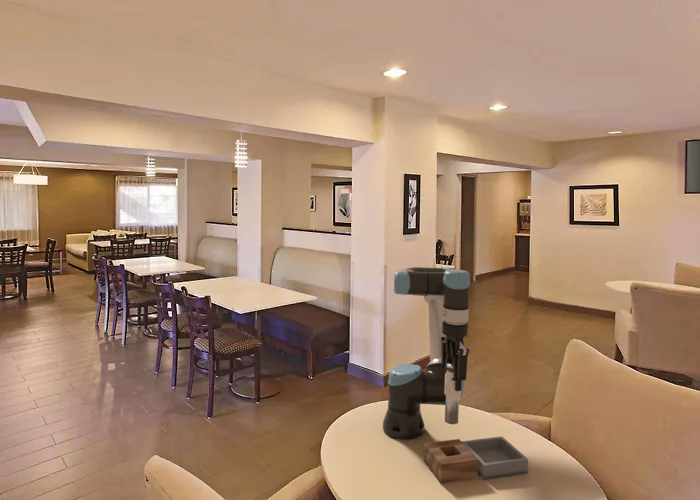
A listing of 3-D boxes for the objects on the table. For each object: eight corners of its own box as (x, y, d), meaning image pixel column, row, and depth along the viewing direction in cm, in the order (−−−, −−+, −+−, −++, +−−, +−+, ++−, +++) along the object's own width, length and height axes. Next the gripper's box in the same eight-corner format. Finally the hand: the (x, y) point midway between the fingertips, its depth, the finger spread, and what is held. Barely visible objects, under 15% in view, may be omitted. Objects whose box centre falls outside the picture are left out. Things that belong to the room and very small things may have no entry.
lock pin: (442, 418, 137) (444, 362, 135) (454, 417, 138) (456, 361, 136) (448, 425, 133) (450, 367, 131) (460, 423, 134) (462, 366, 132)
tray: (460, 454, 145) (461, 441, 145) (501, 449, 149) (502, 436, 148) (483, 479, 132) (484, 465, 131) (527, 473, 135) (528, 459, 135)
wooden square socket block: (423, 461, 141) (424, 443, 140) (458, 456, 144) (458, 439, 143) (440, 483, 129) (441, 464, 129) (477, 478, 132) (478, 459, 132)
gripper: (431, 315, 140) (429, 386, 142) (457, 330, 123) (454, 410, 125) (453, 314, 141) (450, 384, 144) (481, 328, 125) (478, 408, 127)
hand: (452, 396), depth 135 cm, fingers closed on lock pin, 4 cm apart
